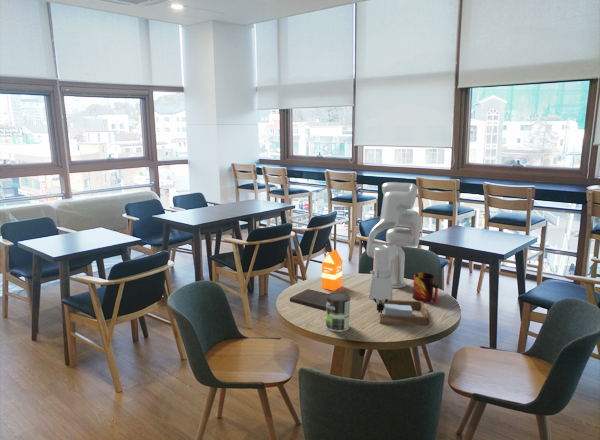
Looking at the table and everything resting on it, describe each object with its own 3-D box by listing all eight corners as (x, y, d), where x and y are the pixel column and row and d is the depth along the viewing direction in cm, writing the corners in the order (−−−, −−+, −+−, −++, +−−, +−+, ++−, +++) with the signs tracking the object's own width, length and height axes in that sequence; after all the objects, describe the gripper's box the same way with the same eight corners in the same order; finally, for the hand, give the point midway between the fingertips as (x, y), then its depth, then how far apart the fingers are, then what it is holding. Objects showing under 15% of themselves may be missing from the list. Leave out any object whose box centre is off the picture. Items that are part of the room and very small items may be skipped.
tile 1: (384, 312, 220) (384, 303, 219) (397, 312, 219) (397, 304, 218) (384, 317, 214) (385, 308, 213) (398, 317, 213) (398, 309, 212)
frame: (377, 306, 226) (378, 299, 226) (422, 308, 224) (422, 301, 223) (380, 323, 207) (380, 315, 206) (428, 325, 205) (429, 318, 204)
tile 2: (397, 313, 219) (397, 305, 218) (410, 313, 218) (410, 305, 217) (398, 318, 213) (398, 309, 212) (411, 318, 212) (412, 310, 212)
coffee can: (334, 333, 196) (334, 302, 194) (321, 324, 205) (321, 294, 202) (354, 328, 201) (355, 297, 199) (340, 320, 210) (341, 290, 207)
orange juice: (342, 286, 255) (342, 250, 251) (334, 290, 248) (335, 254, 244) (329, 283, 259) (330, 248, 255) (321, 287, 252) (321, 252, 248)
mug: (436, 305, 228) (437, 281, 226) (409, 299, 236) (410, 276, 234) (443, 299, 236) (445, 276, 233) (417, 293, 244) (418, 271, 241)
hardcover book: (307, 293, 246) (308, 288, 245) (346, 302, 233) (346, 298, 232) (289, 301, 233) (289, 297, 233) (328, 312, 220) (328, 308, 220)
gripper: (365, 275, 210) (363, 314, 214) (398, 276, 208) (397, 315, 212) (364, 270, 217) (363, 307, 221) (397, 271, 216) (395, 309, 219)
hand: (380, 311), depth 216 cm, fingers closed
